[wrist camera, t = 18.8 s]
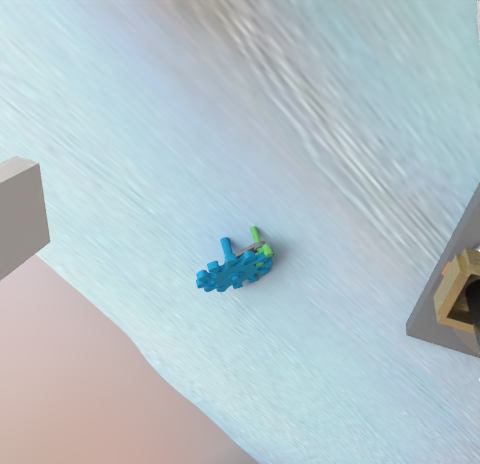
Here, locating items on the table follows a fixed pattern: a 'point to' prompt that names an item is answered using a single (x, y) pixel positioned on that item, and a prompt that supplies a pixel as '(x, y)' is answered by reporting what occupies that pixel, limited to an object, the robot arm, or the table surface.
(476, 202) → the nut plate
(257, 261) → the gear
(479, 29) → the bowl
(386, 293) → the table surface
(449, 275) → the silver disc with box
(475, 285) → the pin
